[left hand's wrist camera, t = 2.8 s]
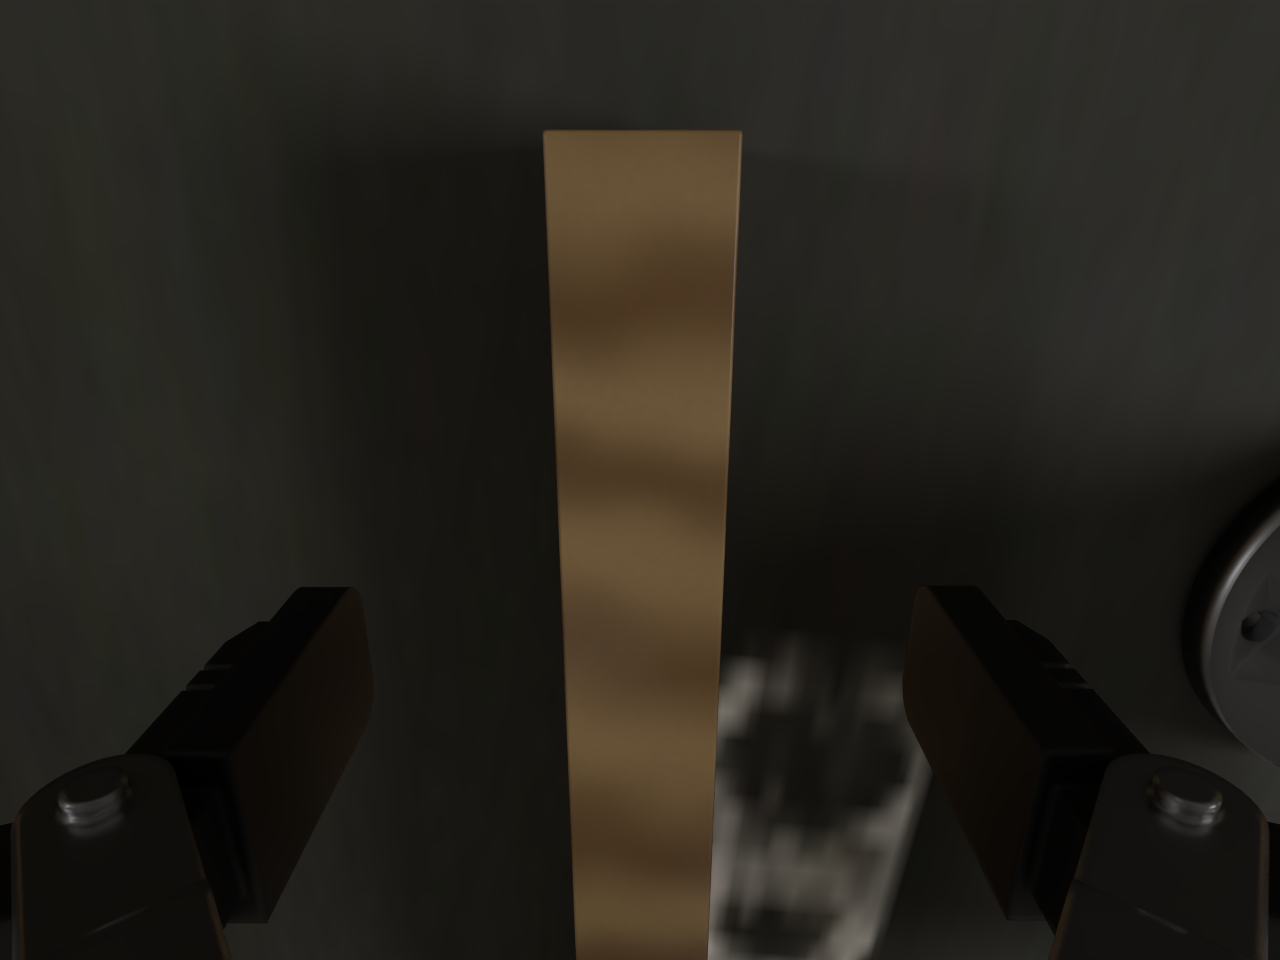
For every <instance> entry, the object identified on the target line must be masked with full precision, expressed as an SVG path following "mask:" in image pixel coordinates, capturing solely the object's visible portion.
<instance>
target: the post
mask: <svg viewBox="0 0 1280 960" xmlns="http://www.w3.org/2000/svg"><path fill="white" fill-rule="evenodd" d="M742 136H743V134H742V131H741V130H545V131H544V132H543V154H544V179H545V204H546V229H547V253H548V278H549V303H550V328H551V352H552V377H553V402H554V427H555V452H556V476H557V501H558V526H559V551H560V575H561V600H562V625H563V650H564V674H565V699H566V724H567V749H568V774H569V798H570V823H571V848H572V873H573V897H574V922H575V947H576V960H707V958H708V935H709V911H710V888H711V864H712V841H713V817H714V794H715V770H716V747H717V723H718V700H719V676H720V653H721V629H722V606H723V582H724V559H725V535H726V512H727V488H728V465H729V441H730V418H731V394H732V371H733V347H734V324H735V300H736V277H737V253H738V230H739V206H740V183H741V159H742Z"/></svg>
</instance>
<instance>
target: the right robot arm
mask: <svg viewBox="0 0 1280 960" xmlns="http://www.w3.org/2000/svg"><path fill="white" fill-rule="evenodd" d="M1182 648H1183V658H1184V663H1185V668H1186V672H1187V675H1188V678H1189V681H1190V683H1191V685H1192V687H1193V689H1194V691H1195V693H1196V695H1197V696H1198V698H1199V699H1200V701H1201V702H1202V704H1203V705H1204V707H1205V708H1206V709H1207V710H1208V711H1209V712H1210V713H1211V714H1212V716H1213V717H1215V718H1216V719H1217V720H1218V721H1219V722H1220V723H1221V724H1222V725H1223V726H1224V727H1225V728H1226V729H1227V730H1229V731H1230V732H1231V733H1232V734H1233V735H1234V736H1235V737H1236V738H1237V739H1238V740H1239V741H1240V742H1242V743H1243V744H1244V745H1245V746H1246V747H1247V748H1248V749H1250V750H1251V751H1252V752H1254V753H1255V754H1257V755H1258V756H1260V757H1261V758H1263V759H1265V760H1267V761H1269V762H1271V763H1273V764H1274V765H1276V766H1278V767H1280V480H1278V481H1277V482H1275V483H1274V484H1273V485H1271V486H1270V487H1269V488H1268V489H1267V490H1265V491H1264V492H1263V493H1262V494H1261V495H1259V496H1258V497H1257V498H1256V499H1255V500H1254V501H1253V502H1252V503H1251V504H1250V505H1249V506H1248V507H1247V508H1245V509H1244V510H1243V511H1242V512H1241V513H1240V514H1239V516H1238V517H1237V518H1236V519H1235V520H1234V521H1233V522H1232V524H1231V525H1230V526H1229V527H1228V528H1227V529H1226V531H1225V532H1224V533H1223V535H1222V536H1221V537H1220V539H1219V540H1218V541H1217V543H1216V544H1215V545H1214V547H1213V549H1212V550H1211V552H1210V553H1209V555H1208V557H1207V558H1206V560H1205V562H1204V564H1203V566H1202V567H1201V569H1200V571H1199V573H1198V575H1197V577H1196V580H1195V582H1194V585H1193V587H1192V590H1191V593H1190V596H1189V599H1188V603H1187V606H1186V610H1185V616H1184V622H1183V632H1182Z"/></svg>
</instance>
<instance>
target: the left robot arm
mask: <svg viewBox="0 0 1280 960" xmlns="http://www.w3.org/2000/svg"><path fill="white" fill-rule="evenodd" d="M903 700H904V707H905V711H906V715H907V719H908V721H909V724H910V726H911V728H912V730H913V732H914V734H915V736H916V738H917V740H918V742H919V744H920V746H921V748H922V750H923V752H924V754H925V756H926V758H927V760H928V762H929V764H930V766H931V768H932V770H933V772H934V774H935V776H936V778H937V780H938V782H939V784H940V786H941V788H942V790H943V792H944V794H945V796H946V798H947V800H948V802H949V804H950V806H951V808H952V810H953V812H954V814H955V816H956V818H957V820H958V822H959V824H960V826H961V828H962V830H963V832H964V834H965V836H966V838H967V840H968V842H969V844H970V847H971V849H972V851H973V853H974V855H975V857H976V859H977V861H978V863H979V865H980V867H981V869H982V871H983V873H984V875H985V877H986V879H987V881H988V883H989V885H990V887H991V889H992V891H993V893H994V895H995V897H996V899H997V901H998V903H999V905H1000V907H1001V909H1002V911H1003V913H1004V915H1005V917H1006V919H1007V920H1046V921H1047V922H1048V924H1049V926H1050V928H1051V930H1052V932H1053V933H1054V935H1055V938H1054V941H1053V945H1052V948H1051V951H1050V955H1049V958H1048V960H1280V824H1275V823H1271V822H1267V821H1266V818H1265V816H1264V815H1263V813H1262V812H1261V810H1260V809H1259V807H1258V806H1257V805H1256V804H1255V803H1254V802H1253V801H1252V800H1251V799H1250V798H1249V797H1248V796H1247V795H1246V794H1245V793H1243V792H1242V791H1241V790H1240V789H1238V788H1237V787H1236V786H1234V785H1233V784H1231V783H1230V782H1228V781H1227V780H1225V779H1223V778H1222V777H1220V776H1218V775H1217V774H1215V773H1213V772H1210V771H1208V770H1206V769H1204V768H1202V767H1200V766H1197V765H1195V764H1192V763H1189V762H1186V761H1183V760H1180V759H1177V758H1172V757H1168V756H1164V755H1156V754H1150V753H1149V752H1148V751H1147V750H1146V748H1145V747H1144V746H1143V745H1142V744H1141V743H1140V742H1139V741H1138V739H1137V738H1136V737H1135V736H1134V735H1133V734H1132V733H1131V732H1130V730H1129V729H1128V728H1127V727H1126V726H1125V725H1124V724H1123V723H1122V722H1121V720H1120V719H1119V718H1118V717H1117V716H1116V715H1115V714H1114V713H1113V711H1112V710H1111V709H1110V708H1109V707H1108V706H1107V705H1106V704H1105V702H1104V701H1103V700H1102V699H1101V698H1100V697H1099V696H1098V695H1097V694H1096V692H1095V691H1094V690H1093V689H1088V683H1087V682H1086V681H1085V680H1084V679H1083V678H1082V677H1081V676H1080V674H1079V673H1078V672H1077V671H1076V670H1075V669H1071V668H1070V663H1069V662H1068V661H1067V660H1066V659H1065V658H1064V657H1063V655H1062V654H1061V653H1060V652H1059V651H1058V650H1057V649H1056V648H1055V646H1054V645H1053V644H1052V643H1051V642H1050V641H1049V640H1048V639H1046V638H1044V637H1043V636H1041V635H1039V634H1038V633H1036V632H1035V631H1033V630H1031V629H1030V628H1028V627H1026V626H1025V625H1023V624H1022V623H1020V622H1018V621H1017V620H1005V619H1004V618H1003V616H1002V615H1001V614H1000V613H999V612H998V610H997V609H996V608H995V607H994V606H993V604H992V603H991V602H990V601H989V600H988V598H987V597H986V596H985V595H984V594H983V592H982V591H981V590H980V589H979V588H978V587H976V586H921V587H920V588H919V589H918V591H917V593H916V595H915V599H914V604H913V611H912V618H911V625H910V632H909V639H908V646H907V654H906V661H905V668H904V675H903ZM372 701H373V676H372V669H371V662H370V655H369V648H368V641H367V635H366V628H365V621H364V614H363V607H362V601H361V597H360V595H359V592H358V591H357V589H355V588H354V587H300V588H298V589H297V590H296V591H295V592H294V593H293V594H292V595H291V597H290V598H289V599H288V600H287V601H286V602H285V604H284V605H283V606H282V607H281V608H280V610H279V611H278V612H277V613H276V614H275V615H274V617H273V618H272V619H271V620H270V621H269V622H258V623H256V624H254V625H253V626H251V627H249V628H248V629H246V630H244V631H243V632H241V633H240V634H238V635H236V636H235V637H233V638H231V639H230V640H228V641H227V642H225V643H224V645H223V646H222V647H221V648H220V649H219V650H218V651H217V652H216V653H215V655H214V656H213V657H212V658H211V659H210V660H209V661H208V662H207V663H206V664H205V666H204V671H199V672H198V673H197V674H196V676H195V677H194V678H193V679H192V680H191V681H190V682H189V683H188V684H187V686H186V691H181V692H180V693H179V694H178V696H177V697H176V698H175V699H174V700H173V701H172V702H171V703H170V704H169V706H168V707H167V708H166V709H165V710H164V711H163V712H162V713H161V714H160V716H159V717H158V718H157V719H156V720H155V721H154V722H153V723H152V724H151V726H150V727H149V728H148V729H147V730H146V731H145V732H144V733H143V734H142V736H141V737H140V738H139V739H138V740H137V741H136V742H135V743H134V744H133V746H132V747H131V748H130V749H129V750H128V751H127V752H126V753H125V754H124V755H116V756H112V757H107V758H103V759H100V760H97V761H94V762H91V763H88V764H85V765H83V766H80V767H78V768H76V769H74V770H72V771H70V772H67V773H65V774H63V775H62V776H60V777H58V778H57V779H55V780H53V781H52V782H50V783H49V784H47V785H46V786H44V787H43V788H42V789H40V790H39V791H38V792H37V793H35V794H34V795H33V796H32V797H31V798H30V799H29V800H28V801H27V802H26V803H25V804H24V805H23V806H22V807H21V809H20V810H19V812H18V813H17V815H16V816H15V818H14V821H13V823H9V824H5V825H1V826H0V960H232V958H231V955H230V951H229V948H228V945H227V941H226V938H225V934H224V931H223V930H224V928H225V926H226V925H227V923H267V922H268V920H269V918H270V916H271V914H272V912H273V910H274V908H275V906H276V904H277V902H278V900H279V898H280V896H281V894H282V892H283V890H284V888H285V886H286V884H287V882H288V880H289V878H290V876H291V874H292V872H293V870H294V868H295V866H296V864H297V862H298V860H299V858H300V856H301V854H302V852H303V850H304V848H305V846H306V844H307V842H308V840H309V838H310V836H311V834H312V832H313V830H314V829H315V827H316V825H317V823H318V821H319V819H320V817H321V815H322V813H323V811H324V809H325V807H326V805H327V803H328V801H329V799H330V797H331V795H332V793H333V791H334V789H335V787H336V785H337V783H338V781H339V779H340V777H341V775H342V773H343V771H344V769H345V767H346V765H347V763H348V761H349V759H350V757H351V755H352V753H353V751H354V749H355V747H356V745H357V743H358V741H359V739H360V737H361V735H362V733H363V731H364V729H365V727H366V725H367V723H368V720H369V717H370V713H371V708H372Z"/></svg>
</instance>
